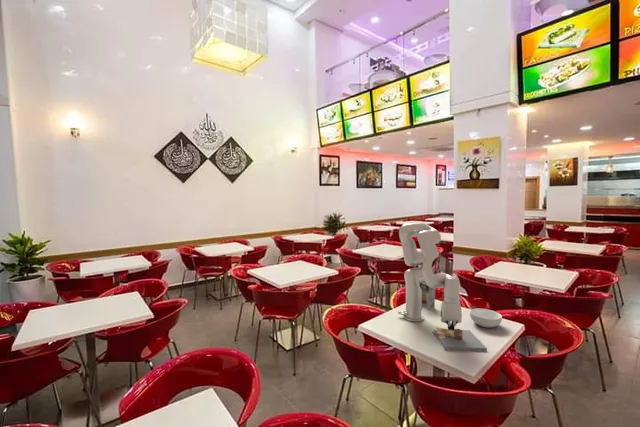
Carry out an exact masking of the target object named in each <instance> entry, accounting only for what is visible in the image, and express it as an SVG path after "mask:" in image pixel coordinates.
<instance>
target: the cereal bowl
mask: <svg viewBox="0 0 640 427" xmlns="http://www.w3.org/2000/svg"><path fill="white" fill-rule="evenodd" d="M469 316H470V319H471V320H472V322H474V323H475V324H477V325H478V326H479V327H483V328H488V329H489V328H494V327H495V328H496V327H498V326H500V325H501V323H502V322H503V316H502V314H500V313H499V312H498V311H497V312H496V311H495V310H491V309H487V308H479V307H478V308H477V307H476V308H472V309H470V311H469Z"/></svg>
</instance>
